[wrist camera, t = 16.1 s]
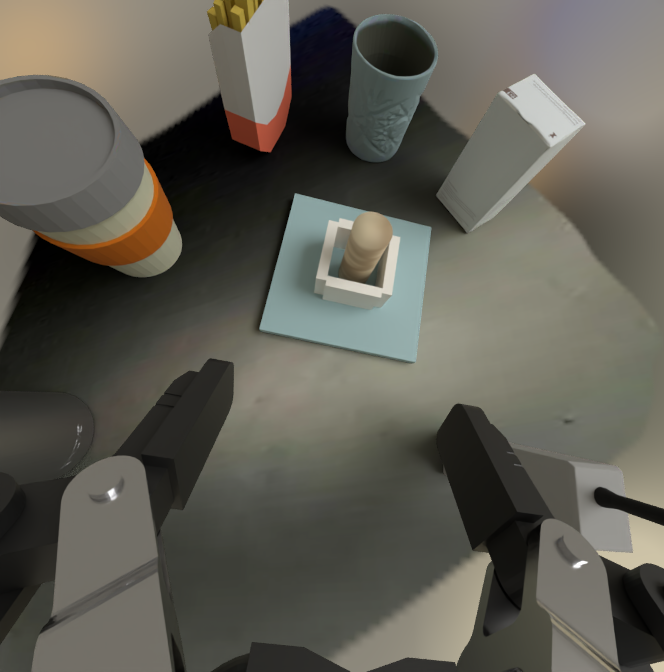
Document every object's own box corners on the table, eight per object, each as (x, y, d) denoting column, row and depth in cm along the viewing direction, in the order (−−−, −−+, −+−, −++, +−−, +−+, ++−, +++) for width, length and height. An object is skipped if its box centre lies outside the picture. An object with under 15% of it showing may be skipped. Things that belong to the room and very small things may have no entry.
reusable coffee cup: (217, 248, 36) (159, 147, 21) (135, 310, 33) (3, 242, 18) (154, 186, 37) (58, 48, 22) (69, 241, 34) (-106, 124, 19)
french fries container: (234, 153, 39) (180, -41, 22) (265, 102, 42) (239, -108, 24) (263, 166, 39) (233, -18, 22) (292, 114, 42) (286, -87, 25)
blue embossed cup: (397, 173, 42) (434, 87, 30) (333, 157, 41) (346, 63, 29) (404, 123, 44) (442, 26, 33) (345, 107, 43) (361, 2, 32)
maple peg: (335, 285, 35) (349, 243, 25) (341, 257, 36) (356, 207, 26) (365, 291, 35) (390, 252, 26) (369, 264, 36) (395, 217, 27)
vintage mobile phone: (441, 473, 33) (848, 695, 8) (442, 430, 34) (800, 516, 10) (470, 476, 33) (942, 697, 9) (470, 433, 34) (885, 524, 10)
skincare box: (492, 218, 42) (592, 125, 28) (464, 236, 41) (554, 148, 26) (459, 178, 43) (539, 68, 29) (431, 194, 42) (500, 87, 27)
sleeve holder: (260, 331, 34) (252, 318, 28) (295, 199, 39) (294, 166, 33) (411, 363, 35) (432, 357, 30) (427, 232, 40) (447, 205, 34)
